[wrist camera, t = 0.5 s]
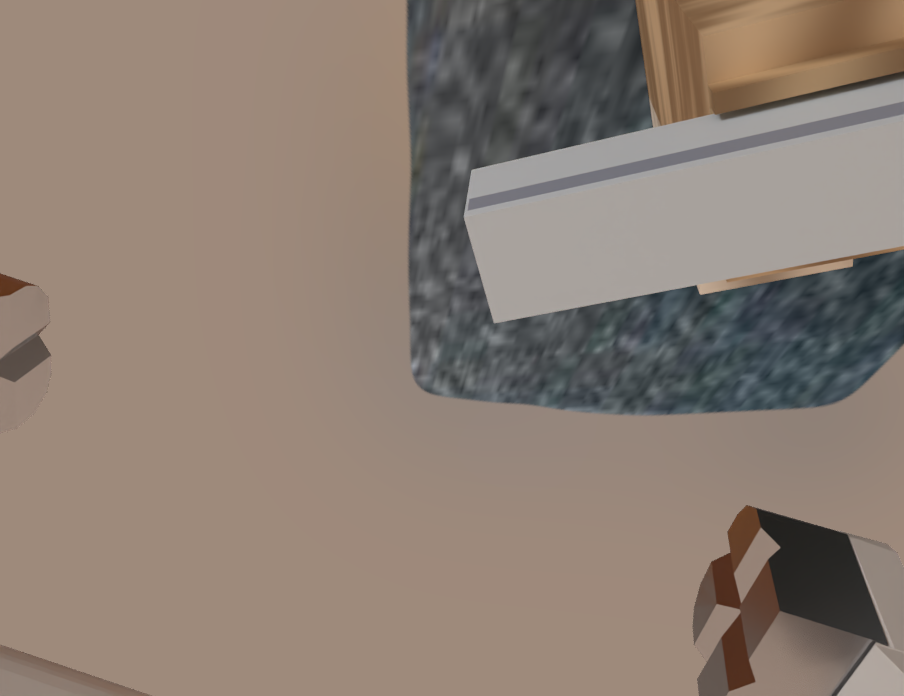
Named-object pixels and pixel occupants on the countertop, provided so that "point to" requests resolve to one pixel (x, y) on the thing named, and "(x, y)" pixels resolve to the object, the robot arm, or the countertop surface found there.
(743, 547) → the robot arm
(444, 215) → the countertop surface
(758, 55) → the tall wood grain block
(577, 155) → the foil carton
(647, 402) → the countertop surface
